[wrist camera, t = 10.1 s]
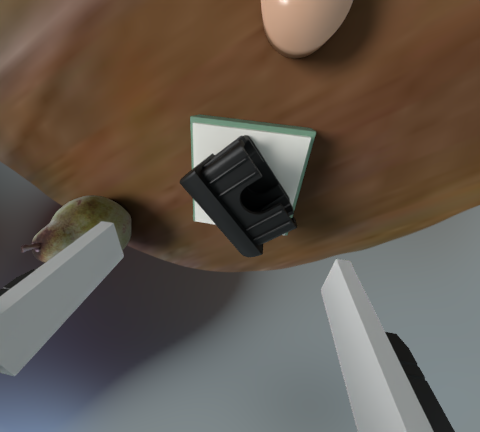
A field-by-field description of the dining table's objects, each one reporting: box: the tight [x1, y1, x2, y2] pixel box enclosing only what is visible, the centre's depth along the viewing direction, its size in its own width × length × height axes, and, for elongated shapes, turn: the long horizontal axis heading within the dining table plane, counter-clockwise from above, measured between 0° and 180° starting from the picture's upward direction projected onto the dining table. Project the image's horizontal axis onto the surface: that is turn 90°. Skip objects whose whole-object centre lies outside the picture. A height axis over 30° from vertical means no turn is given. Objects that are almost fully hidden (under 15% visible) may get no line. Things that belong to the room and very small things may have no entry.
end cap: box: [180, 135, 297, 257], centre depth 20 cm, size 10×7×7 cm
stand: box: [190, 115, 316, 235], centre depth 24 cm, size 13×13×4 cm
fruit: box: [21, 196, 131, 262], centre depth 27 cm, size 10×9×12 cm
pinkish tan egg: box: [261, 0, 353, 58], centre depth 16 cm, size 7×7×4 cm
